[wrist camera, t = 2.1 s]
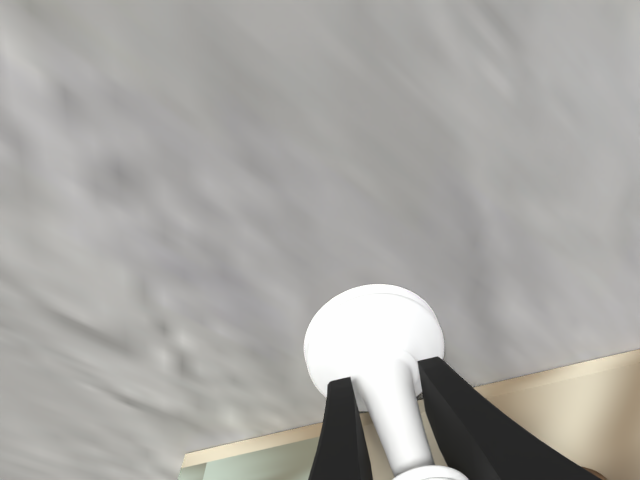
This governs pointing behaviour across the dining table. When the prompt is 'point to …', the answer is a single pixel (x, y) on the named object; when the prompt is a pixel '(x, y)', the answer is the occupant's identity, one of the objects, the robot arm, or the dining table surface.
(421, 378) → the robot arm
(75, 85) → the dining table surface
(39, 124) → the dining table surface
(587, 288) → the dining table surface
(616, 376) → the station
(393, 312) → the chess piece
